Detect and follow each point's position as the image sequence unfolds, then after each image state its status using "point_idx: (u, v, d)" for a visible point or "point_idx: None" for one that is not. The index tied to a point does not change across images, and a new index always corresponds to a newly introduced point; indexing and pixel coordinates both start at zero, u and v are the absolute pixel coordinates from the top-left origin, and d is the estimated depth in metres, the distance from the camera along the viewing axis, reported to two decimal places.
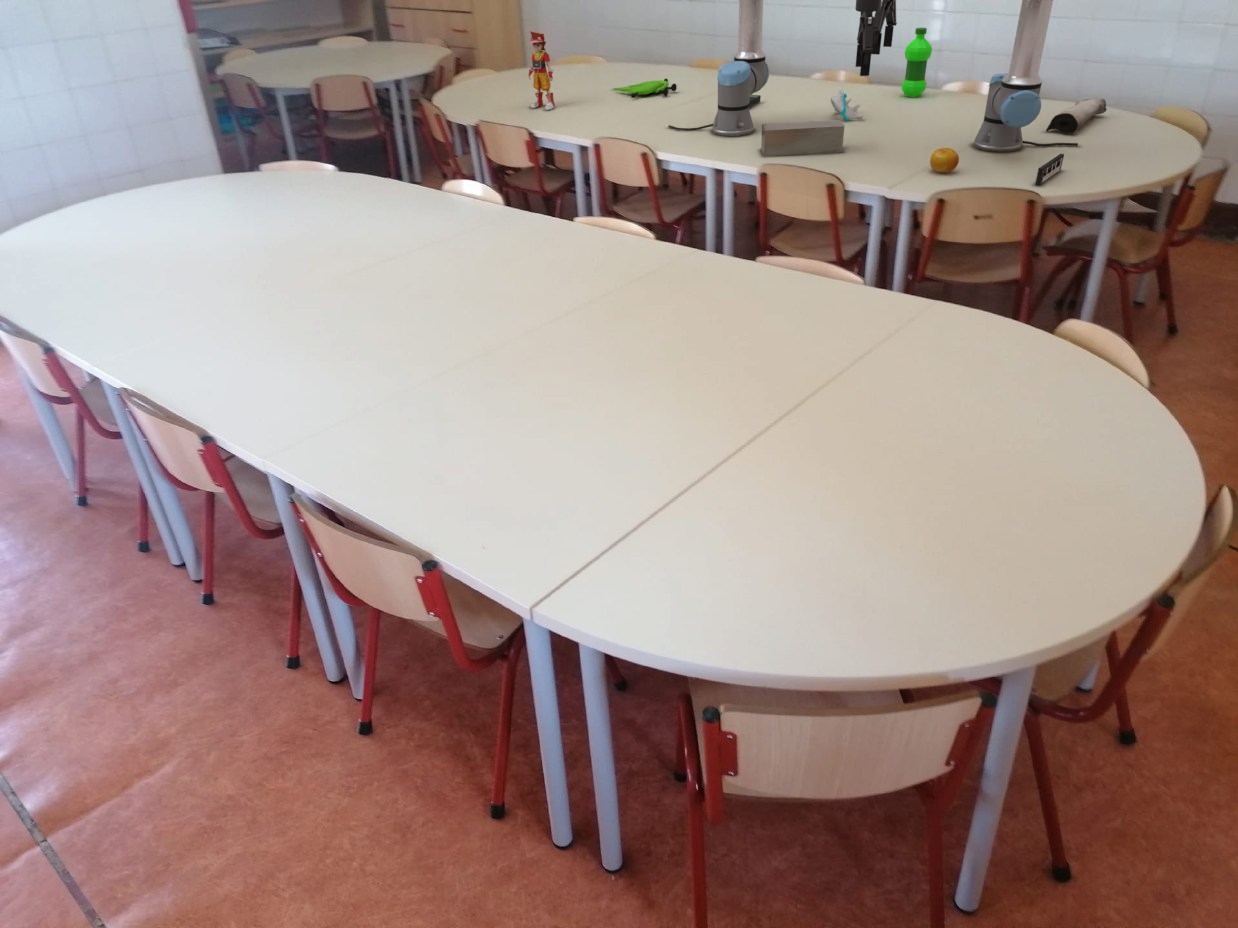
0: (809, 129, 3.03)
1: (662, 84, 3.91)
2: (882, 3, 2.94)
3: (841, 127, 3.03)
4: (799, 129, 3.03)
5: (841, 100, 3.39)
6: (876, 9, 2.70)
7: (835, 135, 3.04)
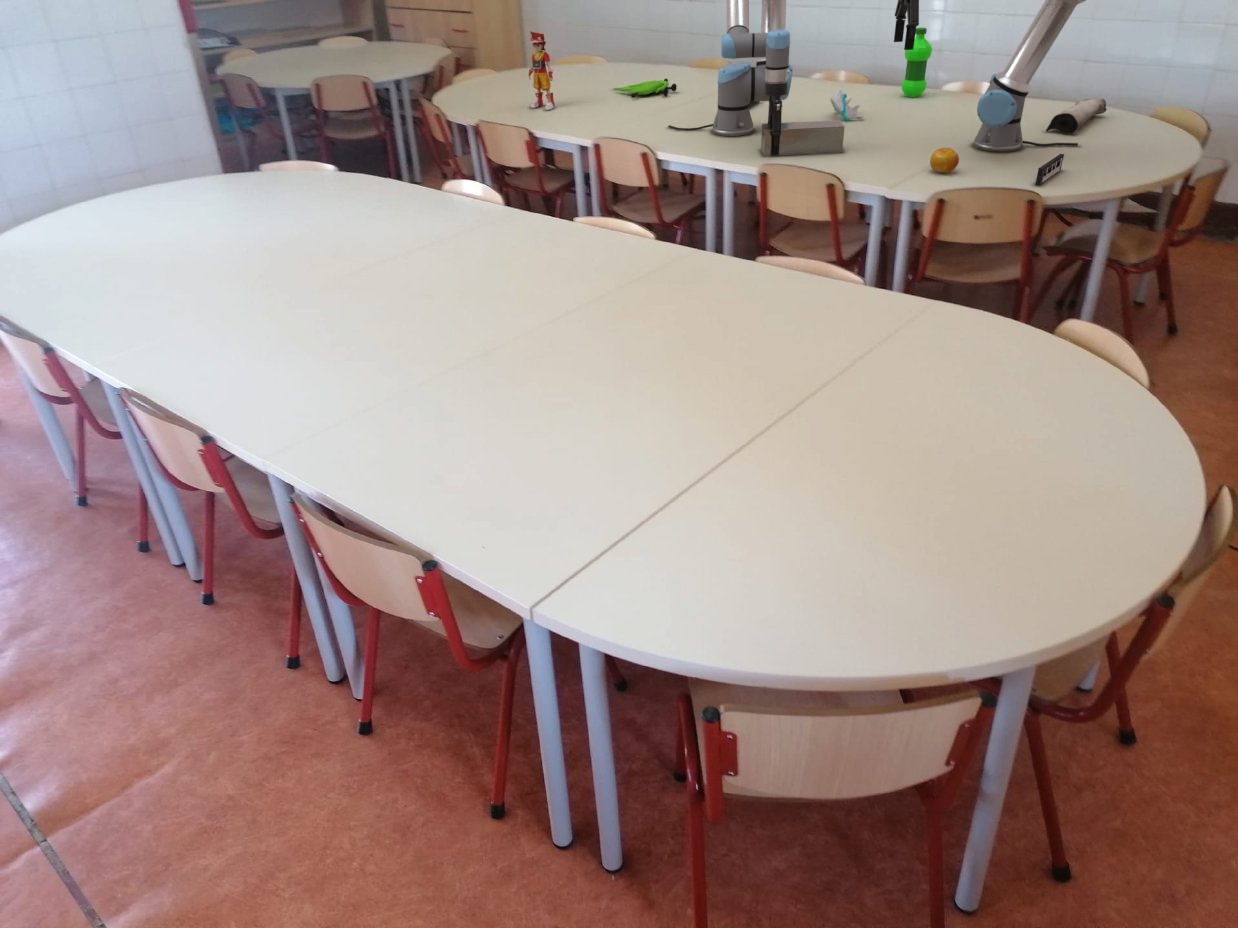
0: (808, 129, 3.03)
1: (662, 84, 3.91)
2: (779, 107, 2.97)
3: (841, 127, 3.03)
4: (799, 129, 3.03)
5: (841, 100, 3.39)
6: None
7: (835, 135, 3.04)
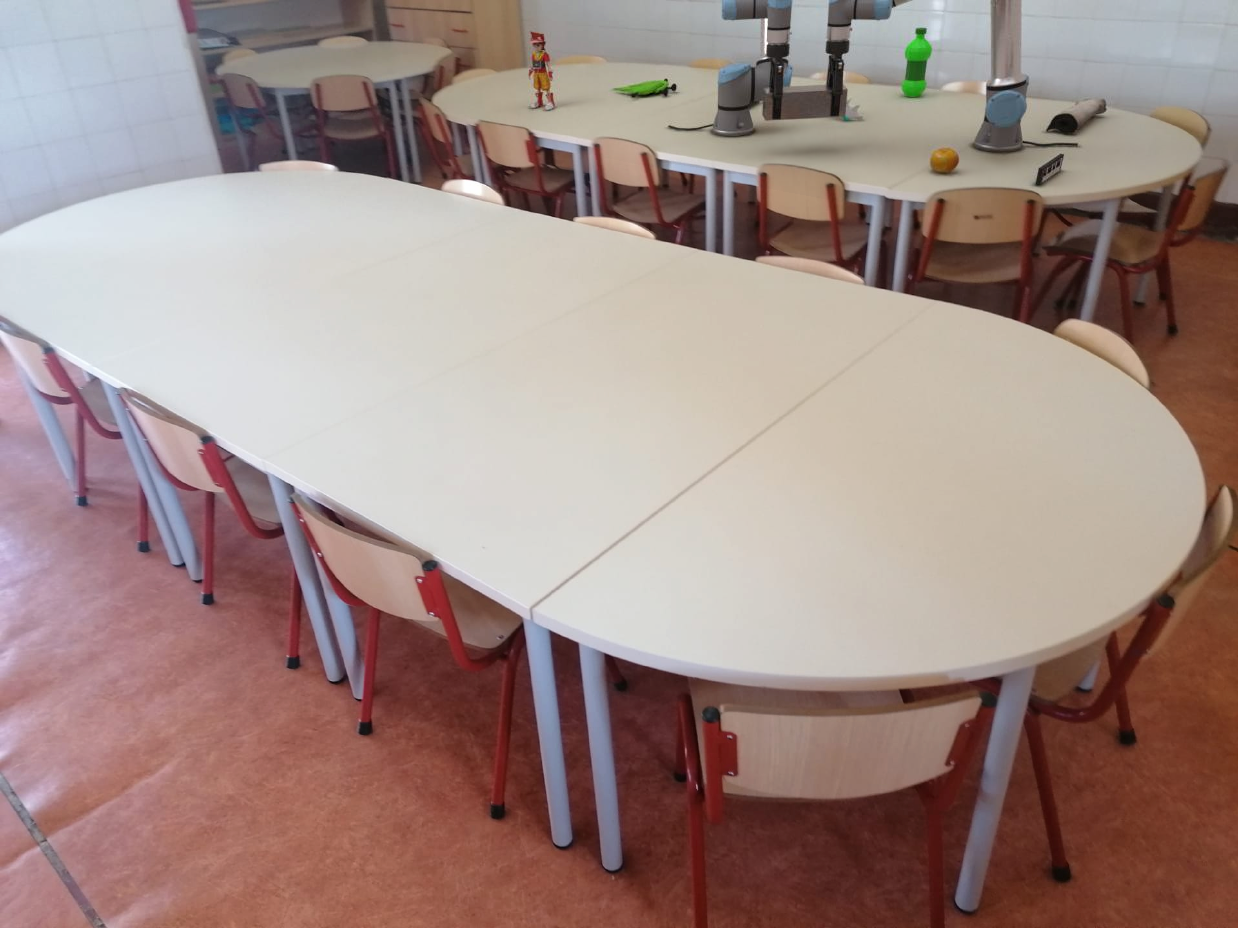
0: (811, 92, 2.97)
1: (662, 84, 3.91)
2: (781, 69, 2.90)
3: (844, 90, 2.96)
4: (801, 93, 2.97)
5: None
6: None
7: None
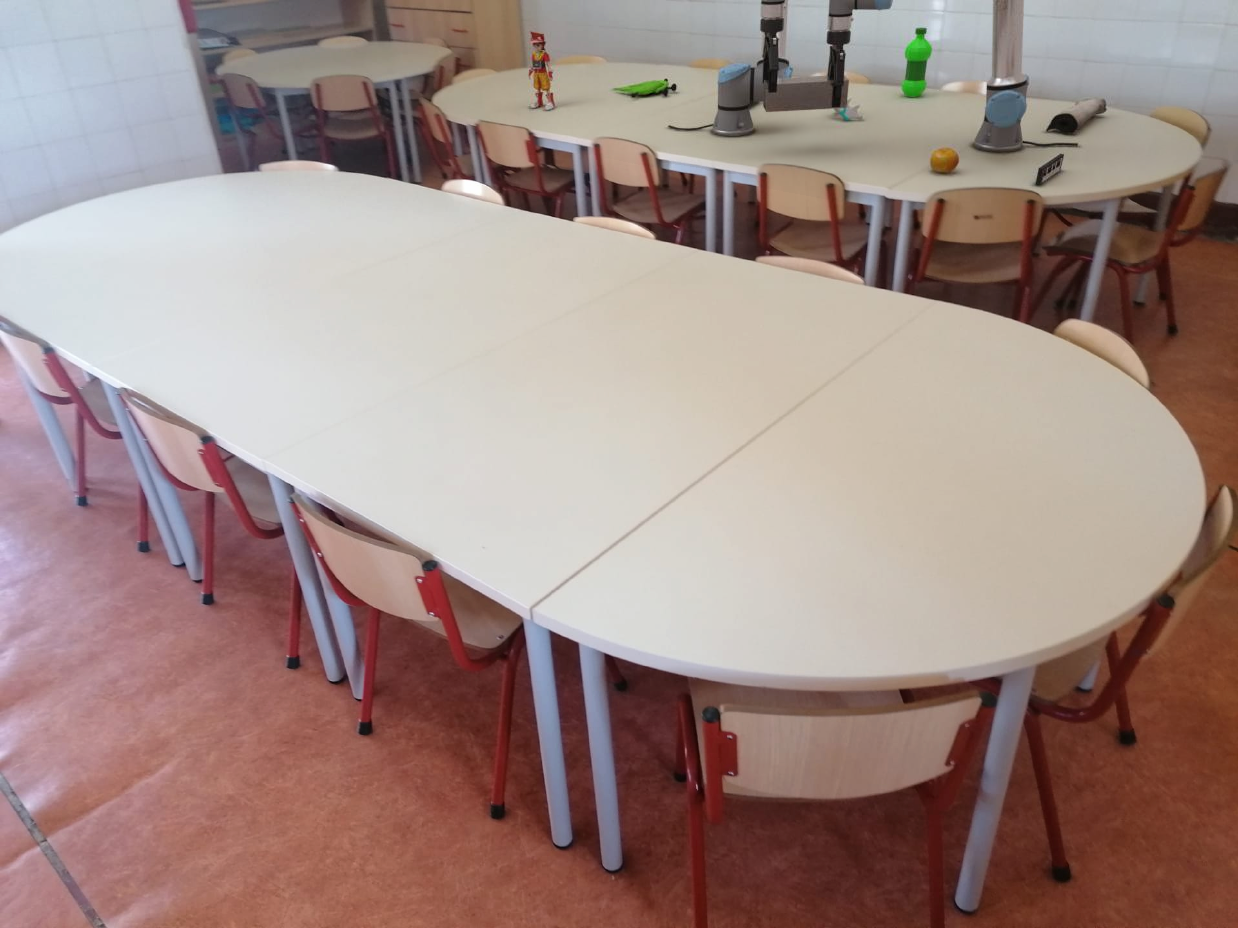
0: (812, 83, 2.95)
1: (662, 84, 3.91)
2: (776, 41, 2.85)
3: (845, 81, 2.95)
4: (802, 84, 2.95)
5: None
6: None
7: None
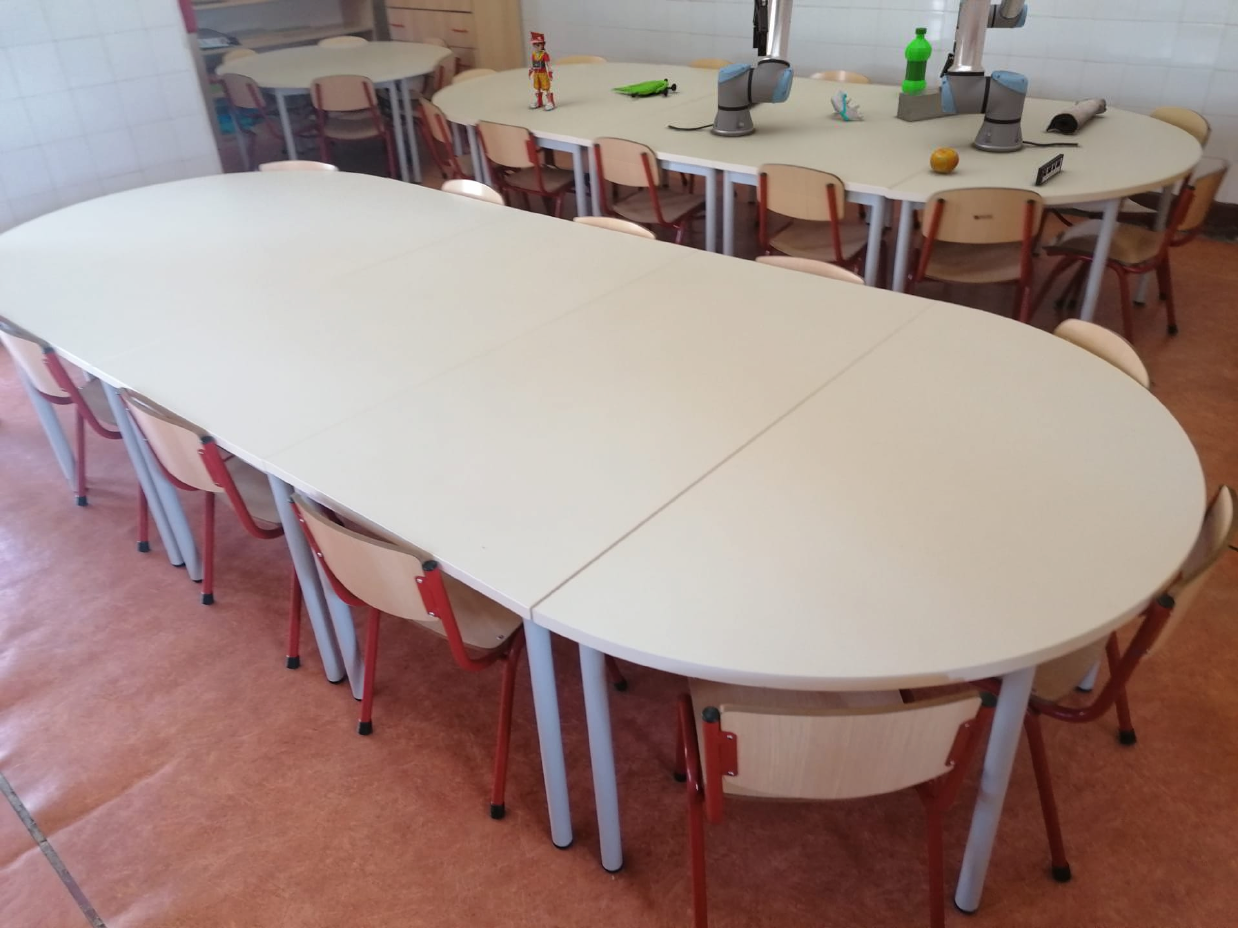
0: None
1: (662, 84, 3.91)
2: (765, 2, 2.79)
3: None
4: (938, 94, 3.33)
5: (841, 100, 3.39)
6: None
7: None
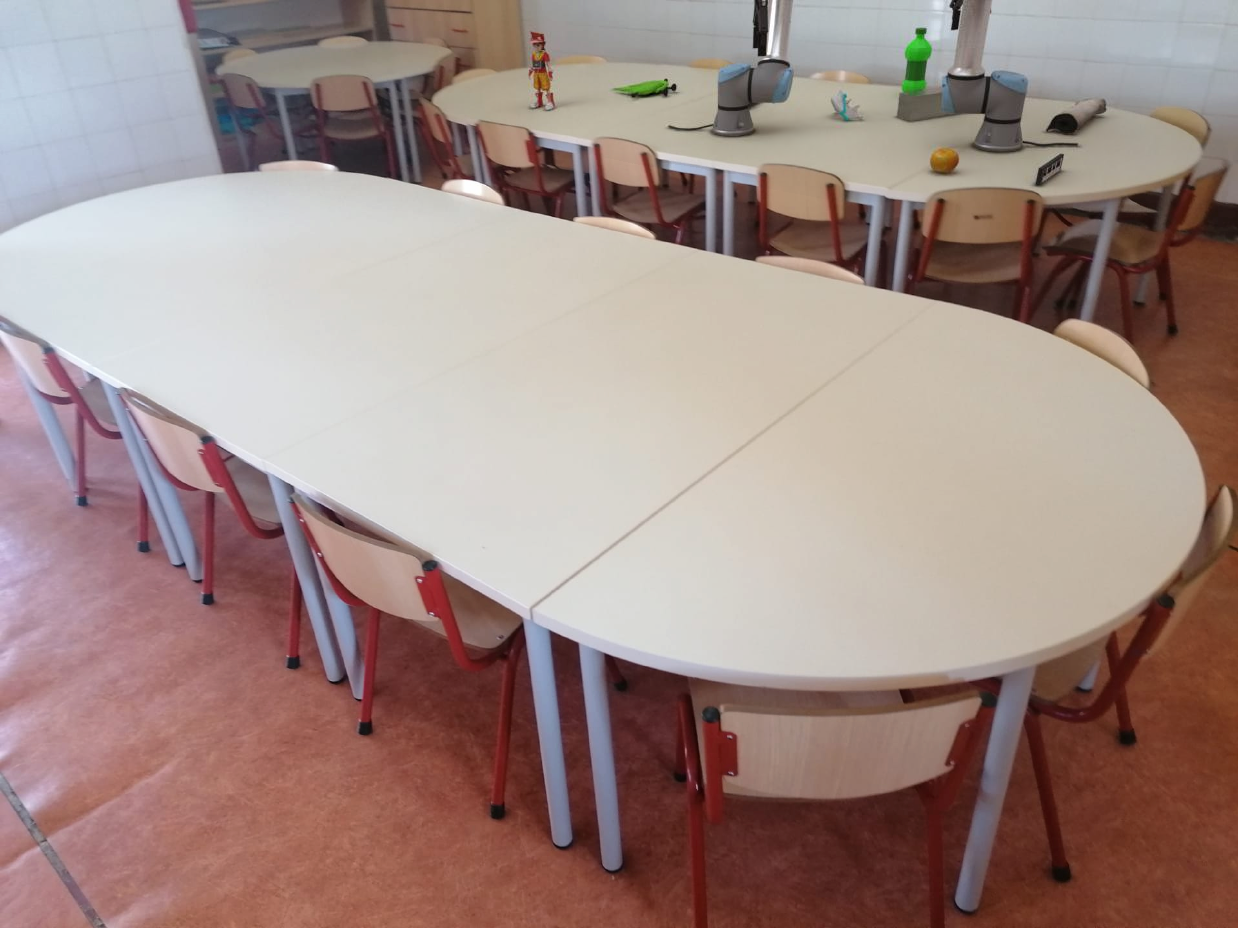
0: None
1: (662, 84, 3.91)
2: (765, 2, 2.79)
3: None
4: (938, 94, 3.33)
5: (841, 100, 3.39)
6: None
7: None
